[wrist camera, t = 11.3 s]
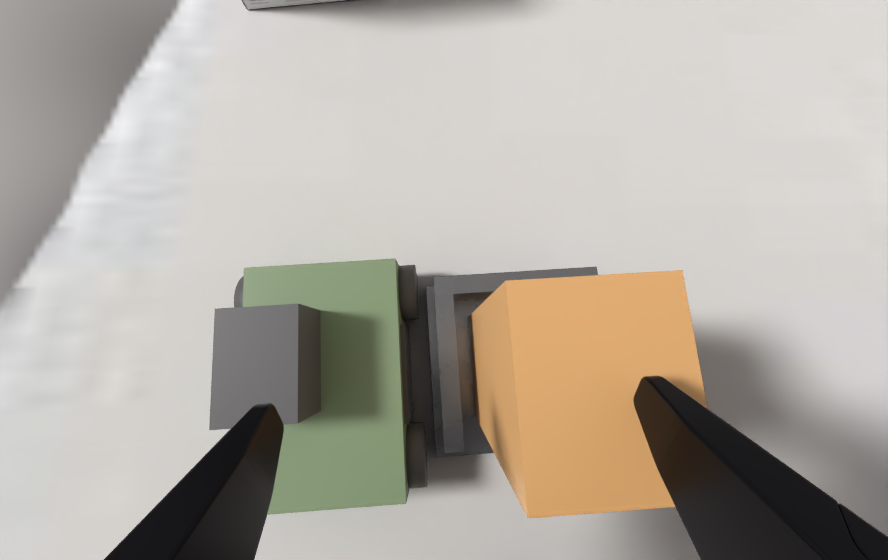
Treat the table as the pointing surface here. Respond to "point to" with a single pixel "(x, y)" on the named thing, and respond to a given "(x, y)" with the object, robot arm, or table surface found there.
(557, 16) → the table surface
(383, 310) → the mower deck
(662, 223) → the table surface
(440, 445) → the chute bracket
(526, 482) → the tan rectangular block
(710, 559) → the robot arm
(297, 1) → the light bulb box
